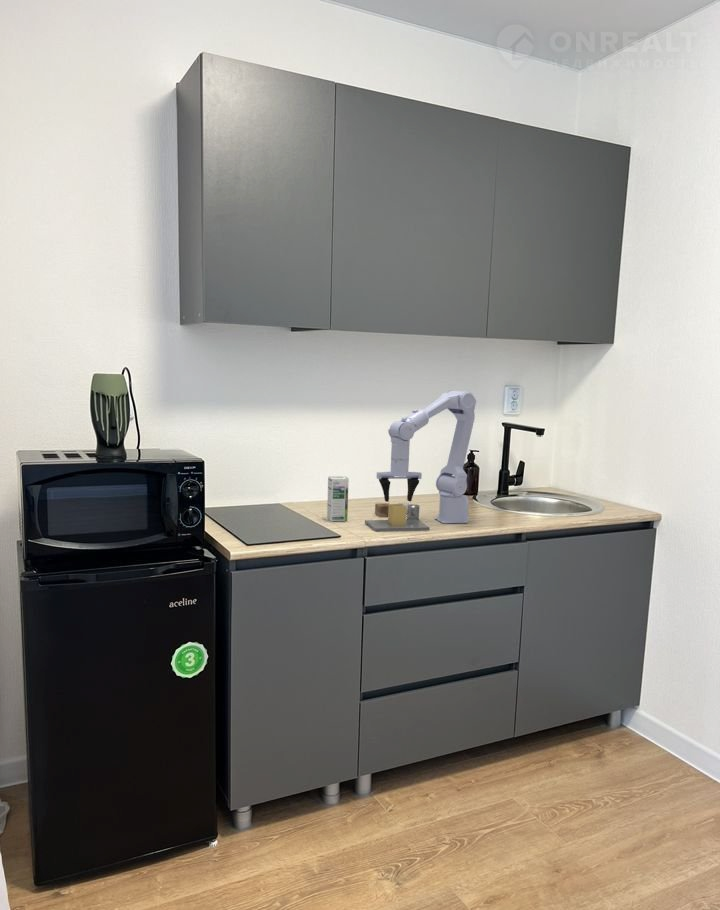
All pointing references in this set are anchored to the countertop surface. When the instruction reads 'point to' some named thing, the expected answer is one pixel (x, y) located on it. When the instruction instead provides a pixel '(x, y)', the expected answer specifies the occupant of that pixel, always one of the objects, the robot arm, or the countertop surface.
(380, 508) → the walnut block
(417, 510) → the dark metal cylinder
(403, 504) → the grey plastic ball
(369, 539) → the countertop surface
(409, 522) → the slate board
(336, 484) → the syrup box
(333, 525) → the countertop surface
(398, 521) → the ochre block
